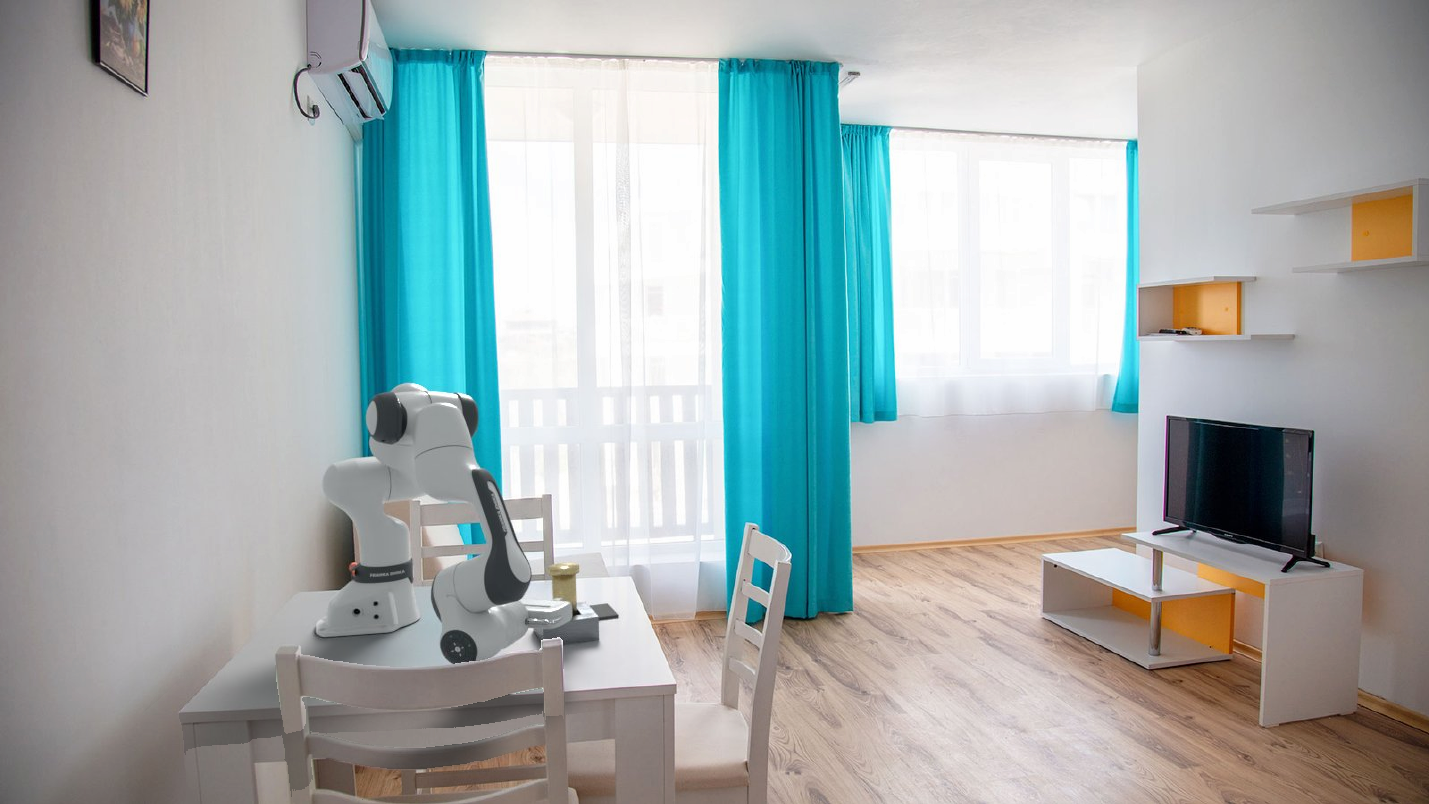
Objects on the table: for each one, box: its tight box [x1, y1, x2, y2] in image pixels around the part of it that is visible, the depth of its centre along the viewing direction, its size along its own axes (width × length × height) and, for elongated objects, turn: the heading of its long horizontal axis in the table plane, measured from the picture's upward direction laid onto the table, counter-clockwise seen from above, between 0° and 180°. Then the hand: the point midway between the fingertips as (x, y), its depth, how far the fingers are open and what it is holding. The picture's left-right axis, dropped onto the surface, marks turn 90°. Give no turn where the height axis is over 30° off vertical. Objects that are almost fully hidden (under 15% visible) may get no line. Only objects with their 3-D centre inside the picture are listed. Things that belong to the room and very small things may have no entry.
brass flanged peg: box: [547, 562, 580, 616], centre depth 185 cm, size 7×7×13 cm
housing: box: [532, 601, 600, 645], centre depth 186 cm, size 12×12×5 cm
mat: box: [589, 602, 620, 621], centre depth 200 cm, size 10×10×1 cm
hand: (539, 600), depth 173 cm, fingers open, 8 cm apart
